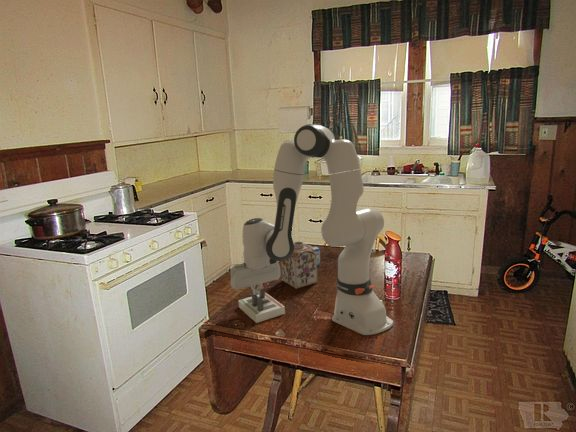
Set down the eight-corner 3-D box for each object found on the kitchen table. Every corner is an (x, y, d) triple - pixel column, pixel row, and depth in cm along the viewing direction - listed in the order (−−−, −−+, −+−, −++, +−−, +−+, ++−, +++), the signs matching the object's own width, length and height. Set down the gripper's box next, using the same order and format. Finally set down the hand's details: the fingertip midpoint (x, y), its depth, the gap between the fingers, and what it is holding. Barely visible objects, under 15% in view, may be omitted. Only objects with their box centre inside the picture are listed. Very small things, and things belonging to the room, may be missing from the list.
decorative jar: (303, 274, 193) (301, 237, 189) (318, 282, 184) (317, 243, 179) (281, 280, 187) (279, 242, 183) (295, 289, 178) (294, 249, 173)
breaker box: (284, 313, 157) (284, 297, 155) (256, 323, 151) (255, 305, 150) (266, 299, 170) (265, 283, 168) (239, 307, 164) (237, 291, 162)
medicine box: (306, 268, 200) (305, 251, 198) (301, 265, 204) (301, 248, 202) (320, 265, 204) (320, 248, 201) (315, 262, 207) (315, 245, 205)
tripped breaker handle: (264, 296, 164) (264, 287, 163) (261, 297, 164) (260, 288, 163) (263, 295, 166) (262, 285, 165) (259, 296, 165) (258, 286, 164)
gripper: (233, 269, 152) (235, 304, 155) (282, 257, 162) (283, 290, 166) (226, 263, 157) (228, 297, 160) (274, 253, 167) (275, 285, 171)
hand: (256, 294), depth 163 cm, fingers closed
